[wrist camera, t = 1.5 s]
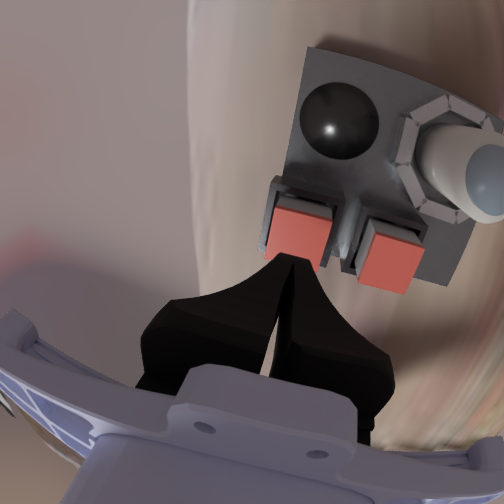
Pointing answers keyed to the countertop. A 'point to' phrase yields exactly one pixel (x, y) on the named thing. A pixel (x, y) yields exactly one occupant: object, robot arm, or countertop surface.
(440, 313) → the countertop surface
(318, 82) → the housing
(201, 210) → the countertop surface
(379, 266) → the plunger
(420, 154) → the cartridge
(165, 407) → the robot arm
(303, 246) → the plunger
